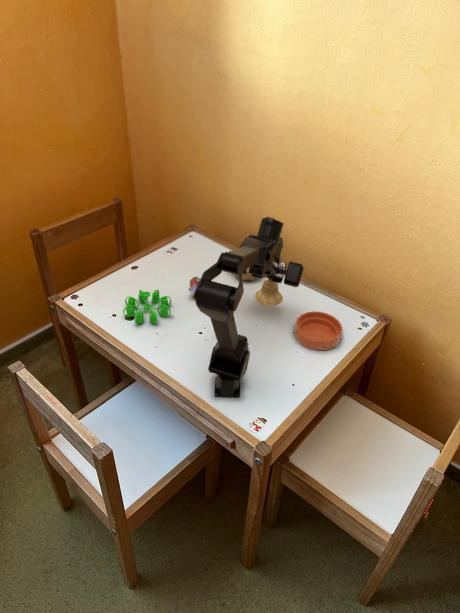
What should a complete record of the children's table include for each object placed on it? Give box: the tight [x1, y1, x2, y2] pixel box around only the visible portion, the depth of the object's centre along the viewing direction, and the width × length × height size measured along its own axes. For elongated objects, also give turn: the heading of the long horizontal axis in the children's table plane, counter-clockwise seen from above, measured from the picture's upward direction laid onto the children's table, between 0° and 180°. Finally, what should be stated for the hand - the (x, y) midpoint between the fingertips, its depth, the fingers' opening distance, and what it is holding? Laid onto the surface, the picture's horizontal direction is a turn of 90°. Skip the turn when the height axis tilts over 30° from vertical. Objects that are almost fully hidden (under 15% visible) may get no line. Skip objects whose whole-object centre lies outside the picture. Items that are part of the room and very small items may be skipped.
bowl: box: [294, 310, 343, 351], centre depth 136 cm, size 13×13×4 cm
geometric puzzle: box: [187, 276, 201, 299], centre depth 148 cm, size 7×7×8 cm
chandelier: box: [122, 289, 172, 325], centre depth 141 cm, size 15×15×7 cm
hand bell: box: [254, 278, 284, 307], centre depth 136 cm, size 8×8×16 cm
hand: (272, 275), depth 137 cm, fingers closed on hand bell
